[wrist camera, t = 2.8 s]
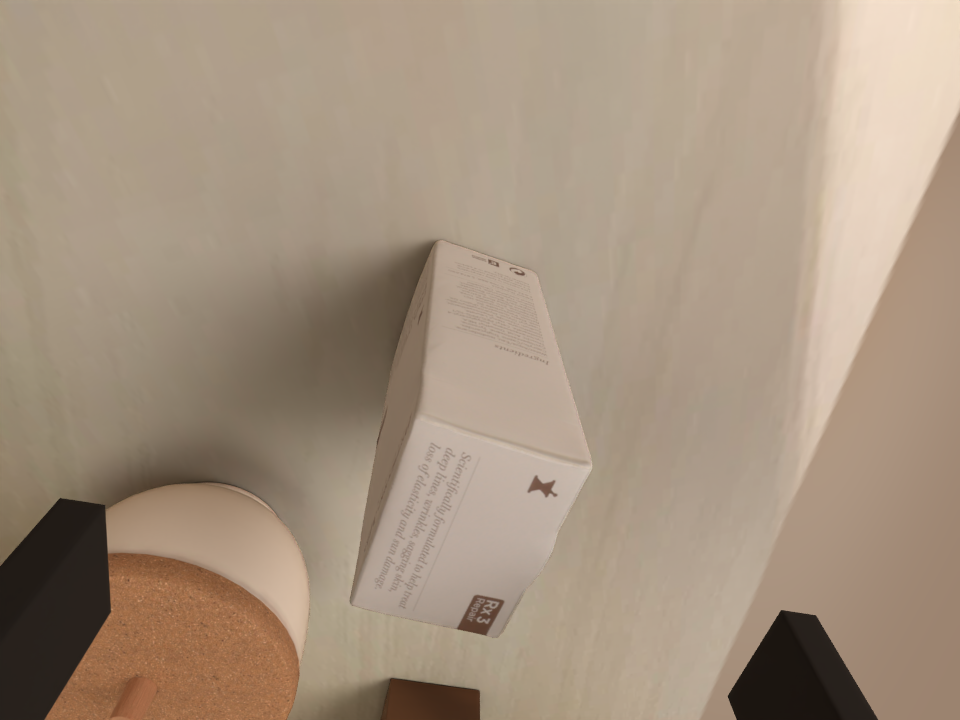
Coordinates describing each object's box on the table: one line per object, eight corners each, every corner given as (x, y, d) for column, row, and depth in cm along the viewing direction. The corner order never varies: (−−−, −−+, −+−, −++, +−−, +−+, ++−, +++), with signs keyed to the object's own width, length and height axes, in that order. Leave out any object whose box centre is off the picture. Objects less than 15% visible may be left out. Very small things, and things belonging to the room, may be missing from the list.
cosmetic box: (432, 234, 23) (400, 401, 13) (544, 271, 24) (604, 460, 13) (388, 372, 26) (329, 609, 15) (490, 403, 27) (503, 649, 16)
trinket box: (343, 614, 32) (298, 814, 24) (132, 613, 32) (13, 816, 24) (323, 439, 28) (258, 615, 19) (73, 438, 27) (-102, 614, 19)
